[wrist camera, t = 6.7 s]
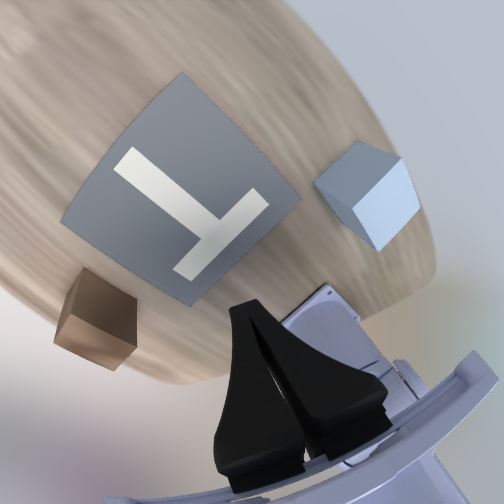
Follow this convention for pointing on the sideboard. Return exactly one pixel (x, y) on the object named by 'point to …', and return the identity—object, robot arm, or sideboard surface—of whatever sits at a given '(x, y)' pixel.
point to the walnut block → (98, 322)
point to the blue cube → (370, 193)
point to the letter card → (180, 195)
